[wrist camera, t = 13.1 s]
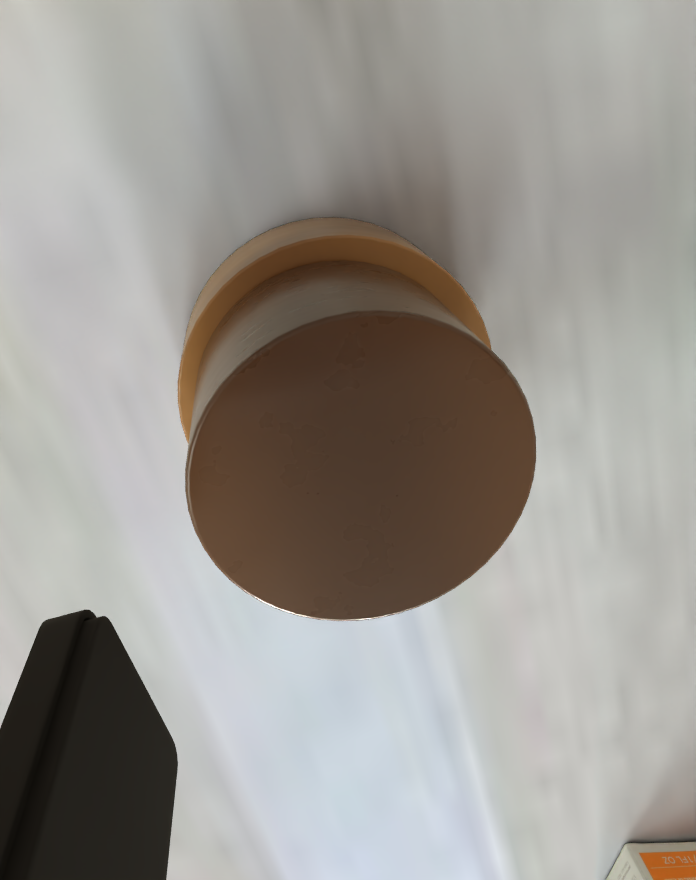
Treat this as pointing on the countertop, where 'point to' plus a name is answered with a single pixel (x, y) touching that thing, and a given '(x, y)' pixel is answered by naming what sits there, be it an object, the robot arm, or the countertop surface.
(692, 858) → the cosmetic box
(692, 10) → the countertop surface
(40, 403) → the countertop surface
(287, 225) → the oak chip
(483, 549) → the brown round canister
